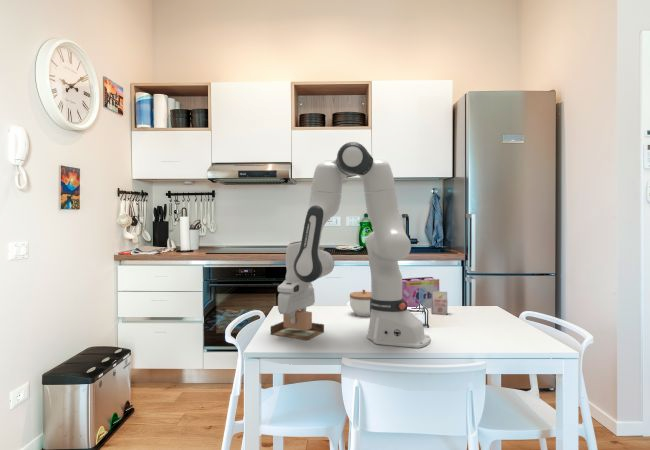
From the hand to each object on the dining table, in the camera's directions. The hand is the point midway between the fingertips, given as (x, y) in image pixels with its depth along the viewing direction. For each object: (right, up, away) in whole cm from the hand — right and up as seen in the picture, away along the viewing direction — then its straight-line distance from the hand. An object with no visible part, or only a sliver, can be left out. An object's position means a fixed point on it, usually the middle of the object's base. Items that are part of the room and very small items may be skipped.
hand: (297, 321), depth 153 cm
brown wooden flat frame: (0, -4, 0) cm, 4 cm away
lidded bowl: (+27, -4, +29) cm, 41 cm away
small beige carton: (+62, -4, +31) cm, 69 cm away
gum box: (+54, -4, +45) cm, 70 cm away
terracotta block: (0, -2, 0) cm, 2 cm away
